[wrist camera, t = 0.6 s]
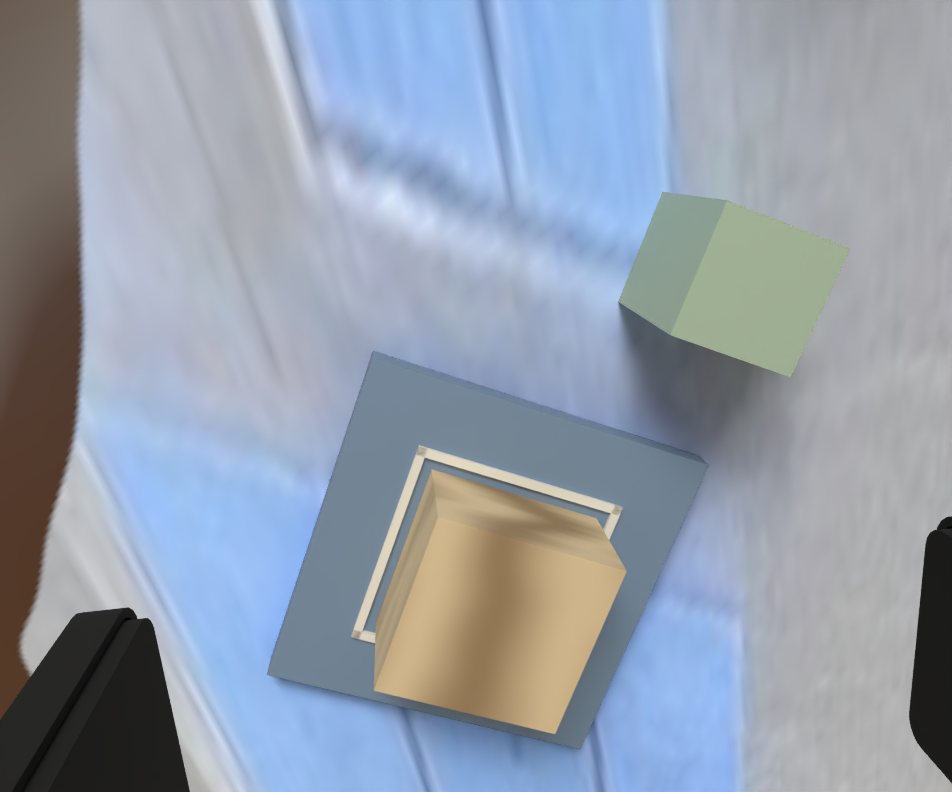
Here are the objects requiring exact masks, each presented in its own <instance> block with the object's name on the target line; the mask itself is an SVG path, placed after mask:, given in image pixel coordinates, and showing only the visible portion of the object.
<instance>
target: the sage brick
mask: <svg viewBox="0 0 952 792" xmlns="http://www.w3.org/2000/svg"><path fill="white" fill-rule="evenodd" d="M849 250H850V248H847V247H845V246H842V245H840V244H837V243H835V242H832V241H830V240H827V239H824V238H822V237H819V236H817V235H814V234H812V233H809V232H806V231H804V230H801V229H799V228H796V227H794V226H791V225H789V224H786V223H783V222H781V221H778V220H776V219H773V218H771V217H768V216H766V215H763V214H760V213H758V212H755V211H753V210H750V209H748V208H745V207H742V206H740V205H737V204H735V203H732V202H730V201H727V200H720V199H712V198H705V197H697V196H690V195H682V194H675V193H667V192H662V194H661V197H660V199H659V202H658V204H657V207H656V209H655V212H654V214H653V217H652V219H651V222H650V224H649V227H648V229H647V232H646V234H645V237H644V239H643V242H642V244H641V247H640V249H639V252H638V254H637V257H636V259H635V262H634V264H633V267H632V269H631V271H630V274H629V276H628V279H627V281H626V284H625V286H624V289H623V291H622V294H621V296H620V299H619V301H618V302H619V303H621V304H622V305H624V306H625V307H627V308H628V309H630V310H632V311H633V312H635V313H636V314H638V315H639V316H641V317H643V318H644V319H646V320H647V321H649V322H650V323H652V324H653V325H655V326H657V327H658V328H660V329H661V330H663V331H664V332H666V333H667V334H669V335H671V336H674V337H677V338H680V339H682V340H685V341H688V342H691V343H694V344H697V345H699V346H702V347H705V348H708V349H711V350H714V351H717V352H719V353H722V354H725V355H728V356H731V357H734V358H737V359H739V360H742V361H745V362H748V363H751V364H754V365H757V366H759V367H762V368H765V369H768V370H771V371H774V372H777V373H779V374H782V375H785V376H788V377H791V375H792V373H793V371H794V369H795V366H796V364H797V362H798V360H799V358H800V356H801V354H802V351H803V349H804V347H805V345H806V343H807V341H808V339H809V336H810V334H811V332H812V330H813V328H814V326H815V323H816V321H817V319H818V317H819V315H820V313H821V311H822V308H823V306H824V304H825V302H826V300H827V298H828V296H829V293H830V291H831V289H832V287H833V285H834V283H835V281H836V278H837V276H838V274H839V272H840V270H841V268H842V266H843V263H844V261H845V259H846V257H847V255H848V253H849Z"/></svg>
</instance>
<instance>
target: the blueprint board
mask: <svg viewBox="0 0 952 792" xmlns="http://www.w3.org/2000/svg"><path fill="white" fill-rule="evenodd" d="M708 466H709V465H708V464H707V463H706V462H705V461H704V460H703V459H702V458H701V457H700V456H698V455H695V454H691V453H688V452H685V451H682V450H679V449H676V448H673V447H670V446H667V445H663V444H660V443H657V442H654V441H651V440H648V439H645V438H642V437H639V436H635V435H632V434H629V433H626V432H623V431H620V430H617V429H614V428H611V427H607V426H604V425H601V424H598V423H595V422H592V421H589V420H586V419H583V418H579V417H576V416H573V415H570V414H567V413H564V412H561V411H558V410H555V409H551V408H548V407H545V406H542V405H539V404H536V403H533V402H530V401H527V400H523V399H520V398H517V397H514V396H511V395H508V394H505V393H502V392H499V391H495V390H492V389H489V388H486V387H483V386H480V385H477V384H474V383H471V382H467V381H464V380H461V379H458V378H455V377H452V376H449V375H446V374H443V373H439V372H436V371H433V370H430V369H427V368H424V367H421V366H418V365H415V364H411V363H408V362H405V361H402V360H399V359H396V358H393V357H390V356H387V355H383V354H380V353H377V352H374V351H373V353H372V356H371V359H370V362H369V365H368V368H367V371H366V374H365V377H364V380H363V383H362V386H361V389H360V392H359V395H358V398H357V401H356V404H355V407H354V410H353V413H352V416H351V419H350V422H349V425H348V428H347V431H346V434H345V437H344V440H343V443H342V446H341V449H340V452H339V455H338V458H337V461H336V464H335V467H334V470H333V473H332V476H331V479H330V482H329V485H328V488H327V491H326V494H325V497H324V500H323V503H322V506H321V509H320V512H319V515H318V518H317V521H316V524H315V527H314V530H313V533H312V536H311V539H310V542H309V545H308V548H307V551H306V554H305V557H304V560H303V564H302V567H301V570H300V573H299V576H298V579H297V582H296V585H295V588H294V591H293V594H292V597H291V600H290V603H289V606H288V609H287V612H286V615H285V618H284V621H283V624H282V627H281V630H280V633H279V636H278V639H277V642H276V645H275V648H274V651H273V654H272V657H271V660H270V664H269V668H268V672H267V675H270V676H274V677H278V678H283V679H287V680H291V681H295V682H299V683H304V684H308V685H312V686H316V687H320V688H325V689H329V690H333V691H337V692H341V693H346V694H350V695H354V696H358V697H362V698H366V699H371V700H375V701H379V702H383V703H387V704H392V705H396V706H400V707H404V708H408V709H413V710H417V711H421V712H425V713H429V714H434V715H438V716H442V717H446V718H450V719H455V720H459V721H463V722H467V723H471V724H476V725H480V726H484V727H488V728H492V729H497V730H501V731H505V732H509V733H513V734H518V735H522V736H526V737H530V738H534V739H539V740H543V741H547V742H551V743H555V744H560V745H564V746H568V747H572V748H576V749H581V747H582V744H583V742H584V740H585V738H586V736H587V733H588V731H589V729H590V727H591V725H592V722H593V720H594V718H595V716H596V713H597V711H598V709H599V707H600V705H601V702H602V700H603V698H604V696H605V694H606V691H607V689H608V687H609V685H610V683H611V680H612V678H613V676H614V674H615V671H616V669H617V667H618V665H619V663H620V660H621V658H622V656H623V654H624V652H625V649H626V647H627V645H628V643H629V640H630V638H631V636H632V634H633V632H634V629H635V627H636V625H637V623H638V621H639V618H640V616H641V614H642V612H643V609H644V607H645V605H646V603H647V601H648V598H649V596H650V594H651V592H652V590H653V587H654V585H655V583H656V581H657V578H658V576H659V574H660V572H661V570H662V567H663V565H664V563H665V561H666V559H667V556H668V554H669V552H670V550H671V547H672V545H673V543H674V541H675V539H676V536H677V534H678V532H679V530H680V528H681V525H682V523H683V521H684V519H685V517H686V514H687V512H688V510H689V508H690V505H691V503H692V501H693V499H694V497H695V494H696V492H697V490H698V488H699V486H700V483H701V481H702V479H703V477H704V474H705V472H706V470H707V468H708ZM431 470H436V471H439V472H442V473H446V474H449V475H453V476H456V477H459V478H463V479H466V480H469V481H473V482H476V483H479V484H483V485H486V486H490V487H493V488H496V489H500V490H503V491H506V492H510V493H513V494H516V495H520V496H523V497H526V498H530V499H533V500H537V501H540V502H543V503H547V504H550V505H553V506H557V507H560V508H563V509H567V510H570V511H574V512H577V513H580V514H584V515H587V516H590V517H594V518H597V520H598V522H599V523H600V525H601V527H602V529H603V530H604V532H605V534H606V536H607V537H608V539H609V541H610V543H611V544H612V546H613V548H614V550H615V551H616V553H617V555H618V557H619V558H620V560H621V562H622V564H623V565H624V567H625V569H626V571H627V572H626V574H625V577H624V579H623V581H622V583H621V586H620V588H619V590H618V592H617V595H616V597H615V599H614V602H613V604H612V606H611V608H610V611H609V613H608V615H607V617H606V620H605V622H604V624H603V626H602V629H601V631H600V633H599V636H598V638H597V640H596V642H595V645H594V647H593V649H592V651H591V654H590V656H589V658H588V661H587V663H586V665H585V667H584V670H583V672H582V674H581V676H580V679H579V681H578V683H577V685H576V688H575V690H574V692H573V695H572V697H571V699H570V701H569V704H568V706H567V708H566V710H565V713H564V715H563V717H562V720H561V722H560V724H559V726H558V729H557V731H556V733H555V734H552V733H548V732H544V731H540V730H535V729H531V728H527V727H523V726H519V725H515V724H510V723H506V722H502V721H498V720H494V719H490V718H486V717H481V716H477V715H473V714H469V713H465V712H461V711H456V710H452V709H448V708H444V707H440V706H436V705H432V704H427V703H423V702H419V701H415V700H411V699H407V698H402V697H398V696H394V695H390V694H386V693H382V692H377V691H374V665H375V632H376V621H377V618H378V616H379V613H380V610H381V607H382V605H383V602H384V599H385V596H386V594H387V591H388V588H389V585H390V583H391V580H392V577H393V574H394V572H395V569H396V566H397V563H398V561H399V558H400V555H401V552H402V550H403V547H404V544H405V541H406V539H407V536H408V533H409V530H410V528H411V525H412V522H413V519H414V517H415V514H416V511H417V508H418V506H419V503H420V500H421V497H422V495H423V492H424V489H425V486H426V484H427V481H428V478H429V475H430V473H431Z"/></svg>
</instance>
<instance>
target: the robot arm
mask: <svg viewBox="0 0 952 792" xmlns="http://www.w3.org/2000/svg"><path fill="white" fill-rule="evenodd" d="M909 720H910V725H911V729H912V732H913V735H914V737H915V739H916V741H917V743H918V744H919V746H920V747H921V748H922V750H923V751H924V752H925V753H926V754H927V755H928V756H929V758H930V759H931V760H932V761H933V762H934V763H935V764H936V766H937V767H938V768H939V769H940V770H941V771H942V772H943V774H944V775H945V776H946V777H947V778H948V779H949V780H950V782H951V783H952V517H946V518H945V519H943V520H942V521H941V522H940V524H939V525H938V527H937V530H934V531H932V532H931V533H930V534H929V535H928V537H927V541H926V546H925V556H924V566H923V577H922V587H921V597H920V608H919V618H918V628H917V639H916V649H915V659H914V669H913V680H912V690H911V700H910V711H909ZM0 792H190V791H189V786H188V781H187V777H186V772H185V768H184V763H183V759H182V754H181V749H180V745H179V740H178V736H177V731H176V726H175V722H174V717H173V713H172V708H171V704H170V699H169V694H168V690H167V685H166V681H165V676H164V671H163V667H162V662H161V658H160V653H159V649H158V644H157V639H156V635H155V631H154V627H153V624H152V622H151V621H150V620H149V619H148V618H144V619H137V616H136V614H135V613H134V611H133V610H132V609H130V608H120V609H111V610H101V611H92V612H83V613H78V614H76V615H75V616H74V617H73V618H72V619H71V620H70V622H69V623H68V625H67V626H66V627H65V629H64V630H63V632H62V633H61V634H60V636H59V637H58V639H57V640H56V642H55V643H54V644H53V646H52V647H51V649H50V650H49V652H48V653H47V654H46V656H45V657H44V659H43V660H42V661H41V663H40V664H39V666H38V667H37V669H36V670H35V671H34V673H33V674H32V676H31V677H30V678H29V680H28V681H27V683H26V684H25V686H24V687H23V689H22V690H21V691H20V693H19V694H18V696H17V697H16V698H15V700H14V701H13V703H12V704H11V706H10V707H9V708H8V710H7V711H6V713H5V714H4V715H3V717H2V718H1V720H0Z"/></svg>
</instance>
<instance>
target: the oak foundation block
mask: <svg viewBox="0 0 952 792" xmlns="http://www.w3.org/2000/svg"><path fill="white" fill-rule="evenodd" d="M626 572H627V571H626V569H625V567H624V565H623V564H622V562H621V560H620V558H619V557H618V555H617V553H616V551H615V550H614V548H613V546H612V544H611V543H610V541H609V539H608V537H607V536H606V534H605V532H604V530H603V529H602V527H601V525H600V523H599V522H598V520H597V518H594V517H590V516H587V515H584V514H580V513H577V512H574V511H570V510H567V509H563V508H560V507H557V506H553V505H550V504H547V503H543V502H540V501H537V500H533V499H530V498H526V497H523V496H520V495H516V494H513V493H510V492H506V491H503V490H500V489H496V488H493V487H490V486H486V485H483V484H479V483H476V482H473V481H469V480H466V479H463V478H459V477H456V476H453V475H449V474H446V473H442V472H439V471H436V470H431V473H430V475H429V478H428V481H427V484H426V486H425V489H424V492H423V495H422V497H421V500H420V503H419V506H418V508H417V511H416V514H415V517H414V519H413V522H412V525H411V528H410V530H409V533H408V536H407V539H406V541H405V544H404V547H403V550H402V552H401V555H400V558H399V561H398V563H397V566H396V569H395V572H394V574H393V577H392V580H391V583H390V585H389V588H388V591H387V594H386V596H385V599H384V602H383V605H382V607H381V610H380V613H379V616H378V618H377V621H376V632H375V665H374V691H377V692H382V693H386V694H390V695H394V696H398V697H402V698H407V699H411V700H415V701H419V702H423V703H427V704H432V705H436V706H440V707H444V708H448V709H452V710H456V711H461V712H465V713H469V714H473V715H477V716H481V717H486V718H490V719H494V720H498V721H502V722H506V723H510V724H515V725H519V726H523V727H527V728H531V729H535V730H540V731H544V732H548V733H552V734H555V733H556V731H557V729H558V726H559V724H560V722H561V720H562V717H563V715H564V713H565V710H566V708H567V706H568V704H569V701H570V699H571V697H572V695H573V692H574V690H575V688H576V685H577V683H578V681H579V679H580V676H581V674H582V672H583V670H584V667H585V665H586V663H587V661H588V658H589V656H590V654H591V651H592V649H593V647H594V645H595V642H596V640H597V638H598V636H599V633H600V631H601V629H602V626H603V624H604V622H605V620H606V617H607V615H608V613H609V611H610V608H611V606H612V604H613V602H614V599H615V597H616V595H617V592H618V590H619V588H620V586H621V583H622V581H623V579H624V577H625V574H626Z"/></svg>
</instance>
